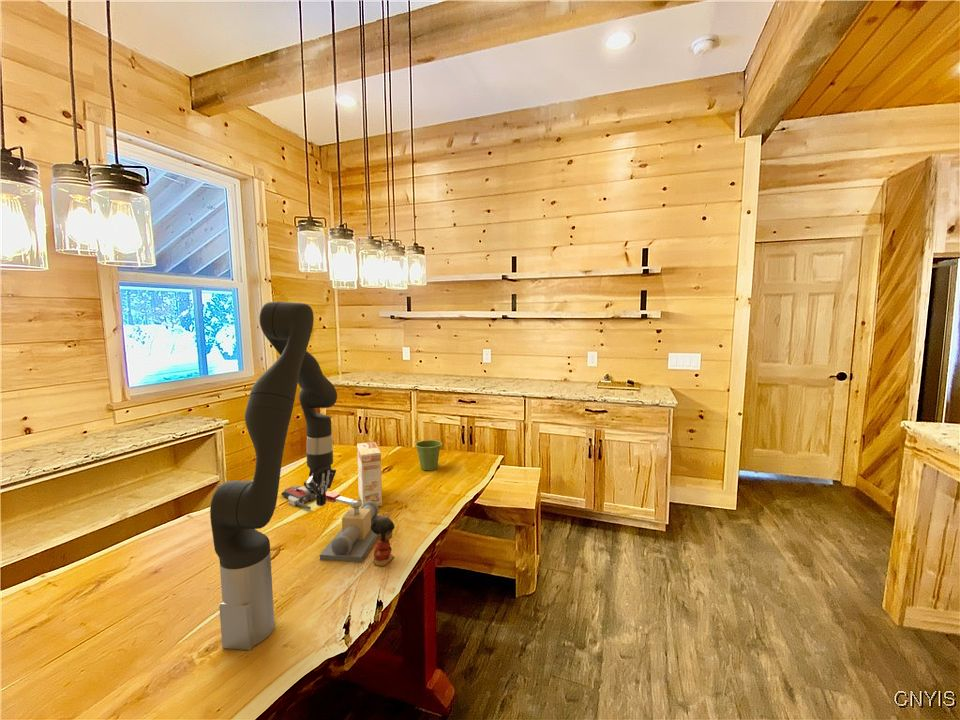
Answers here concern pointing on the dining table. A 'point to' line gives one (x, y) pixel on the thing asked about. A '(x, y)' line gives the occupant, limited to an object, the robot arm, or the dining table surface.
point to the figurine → (382, 541)
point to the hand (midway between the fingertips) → (321, 504)
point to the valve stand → (354, 535)
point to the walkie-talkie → (298, 496)
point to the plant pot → (428, 453)
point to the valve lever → (343, 499)
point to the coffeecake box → (369, 473)
